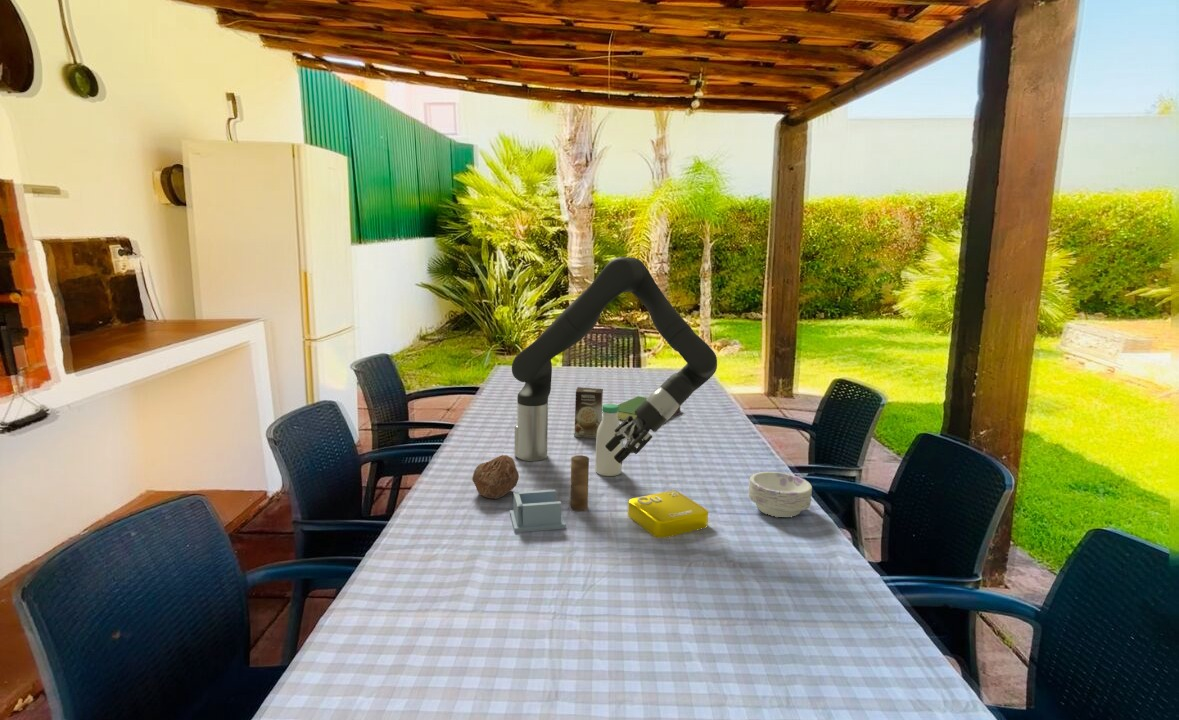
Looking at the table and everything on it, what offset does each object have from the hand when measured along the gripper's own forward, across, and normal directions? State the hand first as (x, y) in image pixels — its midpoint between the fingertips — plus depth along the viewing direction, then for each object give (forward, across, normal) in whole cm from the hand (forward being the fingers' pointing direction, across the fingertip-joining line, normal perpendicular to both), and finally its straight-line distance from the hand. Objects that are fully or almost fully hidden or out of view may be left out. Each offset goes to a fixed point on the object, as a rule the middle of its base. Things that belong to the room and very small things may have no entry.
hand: (612, 454), depth 162 cm
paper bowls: (-20, +11, +39) cm, 45 cm away
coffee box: (+4, -57, +15) cm, 59 cm away
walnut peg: (+15, 0, +4) cm, 16 cm away
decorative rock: (+29, -12, -10) cm, 33 cm away
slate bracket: (+24, +6, -4) cm, 25 cm away
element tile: (+2, +11, +18) cm, 21 cm away
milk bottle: (+6, -22, +14) cm, 27 cm away
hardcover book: (-15, -80, +35) cm, 88 cm away
